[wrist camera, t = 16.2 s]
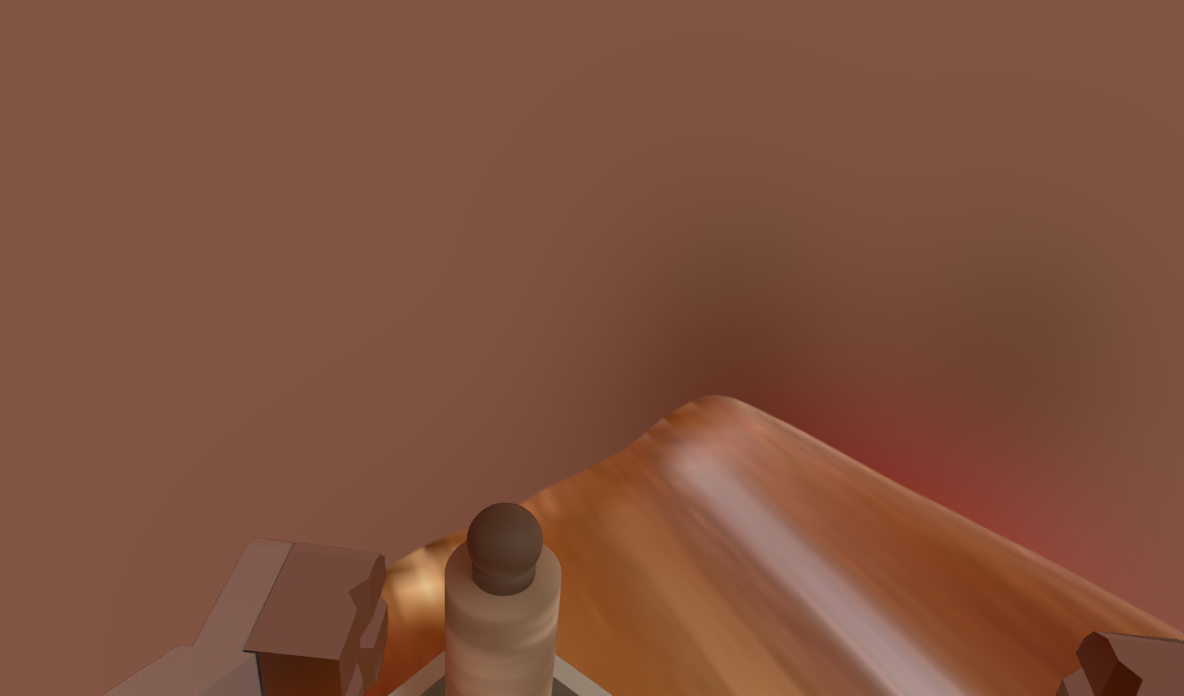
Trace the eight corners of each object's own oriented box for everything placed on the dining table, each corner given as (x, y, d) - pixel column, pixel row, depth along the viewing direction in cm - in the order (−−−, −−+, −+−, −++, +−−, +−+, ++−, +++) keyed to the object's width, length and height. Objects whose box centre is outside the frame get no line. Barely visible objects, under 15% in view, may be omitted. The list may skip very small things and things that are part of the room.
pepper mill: (493, 720, 46) (503, 457, 38) (564, 776, 44) (591, 511, 36) (425, 782, 43) (418, 513, 35) (496, 846, 41) (508, 575, 33)
